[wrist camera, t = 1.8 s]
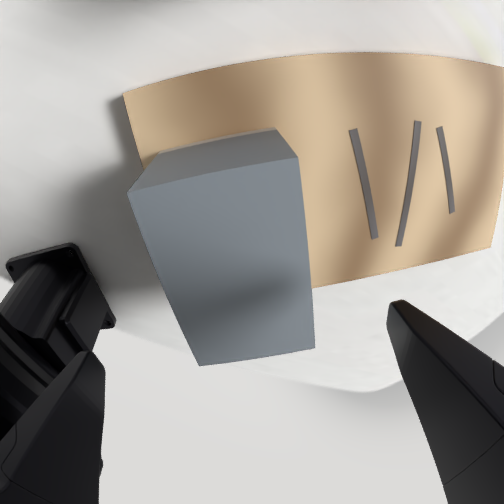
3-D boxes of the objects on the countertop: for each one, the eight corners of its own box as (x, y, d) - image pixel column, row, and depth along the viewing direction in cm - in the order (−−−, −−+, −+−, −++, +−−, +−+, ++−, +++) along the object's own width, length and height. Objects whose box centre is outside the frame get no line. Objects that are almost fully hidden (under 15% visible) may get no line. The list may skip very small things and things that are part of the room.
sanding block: (204, 293, 17) (198, 366, 13) (160, 150, 13) (126, 193, 9) (295, 277, 17) (315, 347, 13) (274, 127, 13) (298, 157, 8)
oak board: (193, 295, 19) (192, 309, 18) (130, 91, 12) (122, 93, 11) (480, 238, 18) (490, 247, 17) (493, 65, 11) (507, 68, 10)
